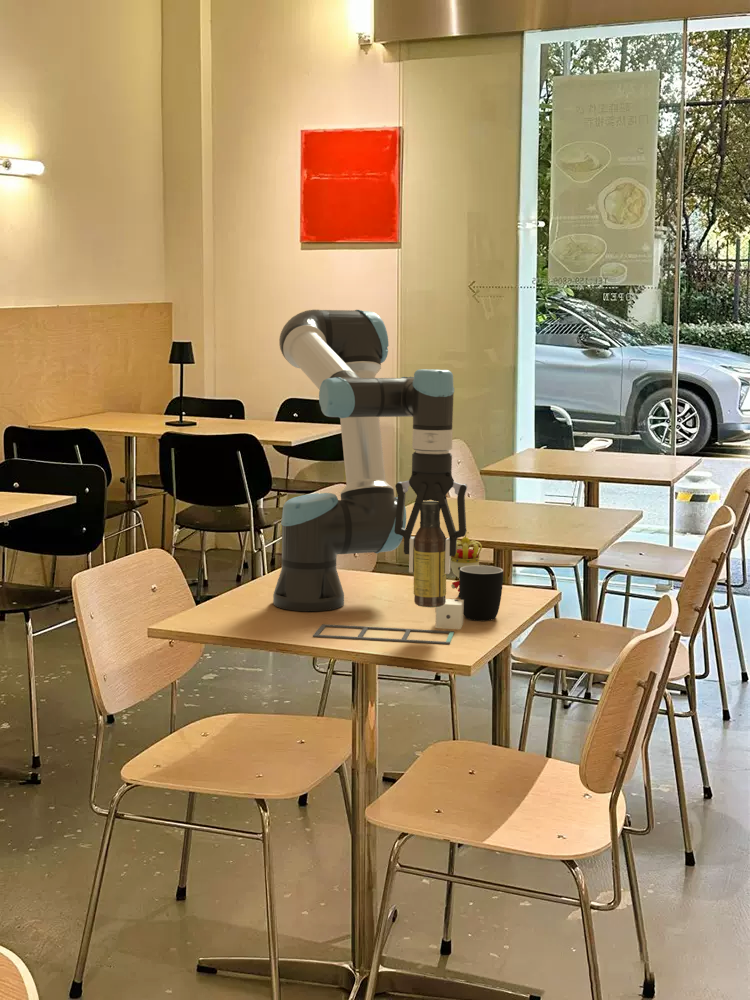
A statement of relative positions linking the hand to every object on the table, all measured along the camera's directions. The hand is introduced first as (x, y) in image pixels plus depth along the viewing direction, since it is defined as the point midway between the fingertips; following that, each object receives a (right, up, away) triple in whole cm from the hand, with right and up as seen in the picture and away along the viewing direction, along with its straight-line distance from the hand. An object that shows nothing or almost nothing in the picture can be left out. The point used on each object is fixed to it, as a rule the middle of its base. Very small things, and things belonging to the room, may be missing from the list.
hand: (429, 571), depth 242 cm
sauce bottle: (0, -7, +1) cm, 7 cm away
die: (+4, -12, +12) cm, 17 cm away
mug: (+10, -11, +20) cm, 25 cm away
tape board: (-9, -12, +3) cm, 15 cm away
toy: (+9, -8, +39) cm, 40 cm away
